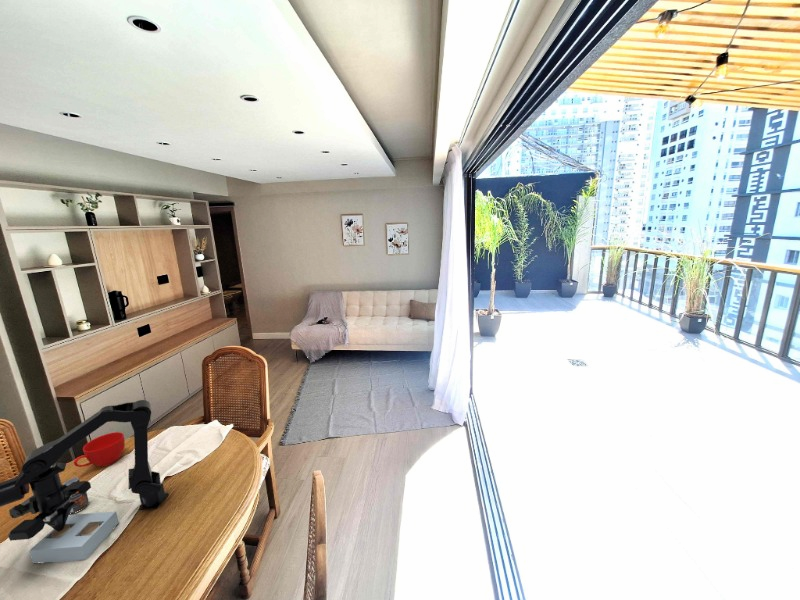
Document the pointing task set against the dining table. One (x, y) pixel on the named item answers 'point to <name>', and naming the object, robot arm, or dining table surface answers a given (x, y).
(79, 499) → the supplement bottle
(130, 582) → the dining table surface
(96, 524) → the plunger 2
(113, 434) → the ceramic cup
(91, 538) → the block
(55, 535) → the plunger
